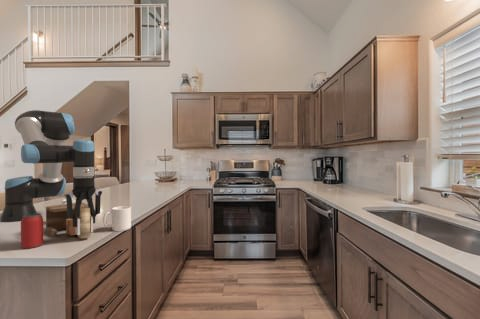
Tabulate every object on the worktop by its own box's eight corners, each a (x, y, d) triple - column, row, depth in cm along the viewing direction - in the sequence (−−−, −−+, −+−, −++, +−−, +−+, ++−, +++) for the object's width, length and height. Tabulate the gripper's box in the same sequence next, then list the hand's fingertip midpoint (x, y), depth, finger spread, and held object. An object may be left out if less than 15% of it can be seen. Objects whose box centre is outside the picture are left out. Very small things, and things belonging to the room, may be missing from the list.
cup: (133, 229, 116) (133, 208, 116) (104, 234, 108) (104, 211, 108) (128, 225, 122) (128, 205, 122) (101, 229, 115) (101, 208, 115)
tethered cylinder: (66, 233, 107) (65, 205, 107) (81, 229, 112) (81, 203, 112) (78, 239, 98) (77, 210, 98) (94, 235, 103) (94, 207, 103)
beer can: (29, 243, 97) (29, 213, 97) (47, 242, 98) (47, 212, 97) (16, 249, 90) (15, 217, 90) (35, 248, 91) (34, 216, 91)
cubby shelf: (46, 231, 112) (45, 206, 112) (80, 225, 123) (80, 202, 123) (53, 236, 105) (53, 209, 105) (89, 229, 116) (89, 204, 116)
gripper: (62, 179, 93) (62, 240, 93) (109, 176, 106) (109, 229, 106) (56, 178, 97) (56, 236, 97) (102, 175, 111) (102, 226, 111)
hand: (84, 232), depth 102 cm, fingers closed on tethered cylinder, 4 cm apart
